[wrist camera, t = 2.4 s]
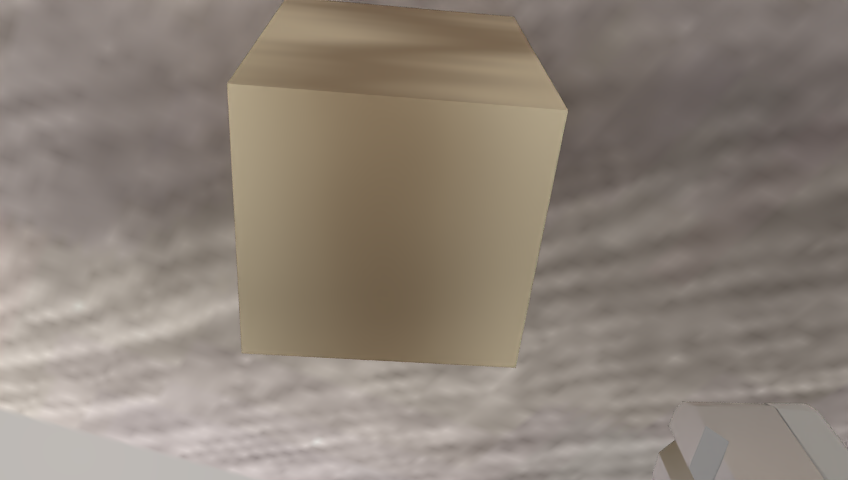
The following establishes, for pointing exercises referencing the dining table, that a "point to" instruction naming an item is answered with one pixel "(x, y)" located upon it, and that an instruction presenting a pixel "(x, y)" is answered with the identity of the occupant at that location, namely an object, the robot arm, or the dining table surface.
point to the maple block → (390, 183)
